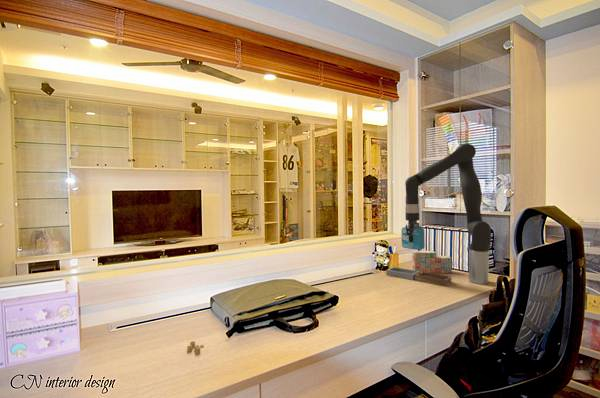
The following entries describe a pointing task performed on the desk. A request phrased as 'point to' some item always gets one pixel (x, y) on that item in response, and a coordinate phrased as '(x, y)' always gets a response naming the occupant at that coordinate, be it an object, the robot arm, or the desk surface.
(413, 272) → the grey bin
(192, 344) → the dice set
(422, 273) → the walnut bin
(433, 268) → the stack of blocks
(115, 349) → the desk surface
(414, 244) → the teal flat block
